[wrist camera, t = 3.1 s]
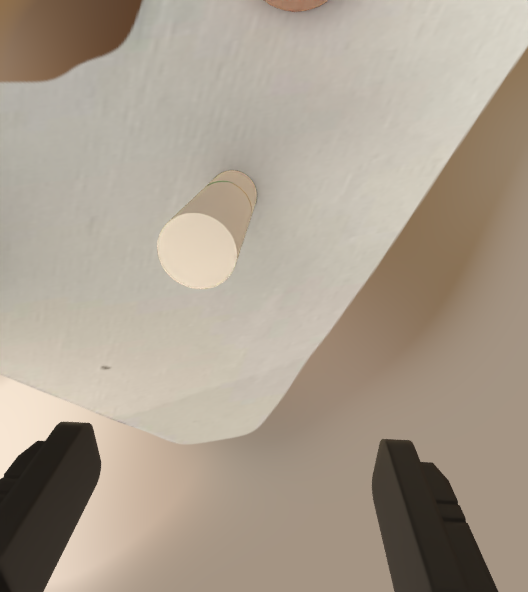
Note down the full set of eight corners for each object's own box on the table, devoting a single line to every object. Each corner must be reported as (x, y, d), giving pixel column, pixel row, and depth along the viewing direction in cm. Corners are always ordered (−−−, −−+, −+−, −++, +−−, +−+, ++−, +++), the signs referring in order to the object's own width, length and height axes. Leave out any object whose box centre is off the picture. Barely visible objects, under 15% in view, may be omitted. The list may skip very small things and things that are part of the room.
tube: (264, 183, 33) (249, 233, 19) (245, 226, 35) (220, 300, 21) (219, 161, 32) (170, 198, 19) (202, 207, 34) (147, 270, 21)
